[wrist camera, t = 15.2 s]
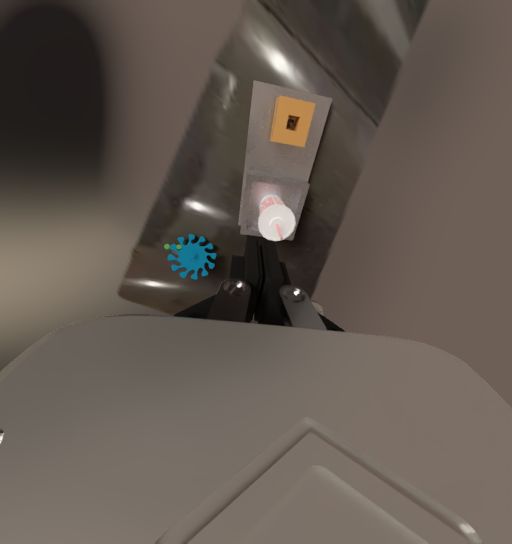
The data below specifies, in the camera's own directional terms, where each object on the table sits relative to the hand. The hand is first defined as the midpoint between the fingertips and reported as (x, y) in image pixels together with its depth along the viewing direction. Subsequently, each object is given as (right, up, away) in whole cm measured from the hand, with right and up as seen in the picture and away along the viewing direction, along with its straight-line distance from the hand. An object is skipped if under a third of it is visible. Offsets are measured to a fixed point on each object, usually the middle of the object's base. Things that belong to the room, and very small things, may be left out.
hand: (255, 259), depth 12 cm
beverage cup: (+3, +12, +26) cm, 29 cm away
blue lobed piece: (-14, +5, +32) cm, 36 cm away
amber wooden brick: (+5, +22, +17) cm, 28 cm away
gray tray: (+4, +18, +23) cm, 30 cm away
